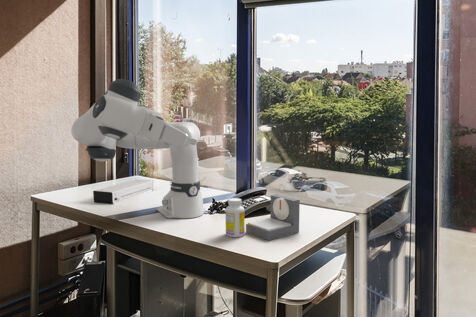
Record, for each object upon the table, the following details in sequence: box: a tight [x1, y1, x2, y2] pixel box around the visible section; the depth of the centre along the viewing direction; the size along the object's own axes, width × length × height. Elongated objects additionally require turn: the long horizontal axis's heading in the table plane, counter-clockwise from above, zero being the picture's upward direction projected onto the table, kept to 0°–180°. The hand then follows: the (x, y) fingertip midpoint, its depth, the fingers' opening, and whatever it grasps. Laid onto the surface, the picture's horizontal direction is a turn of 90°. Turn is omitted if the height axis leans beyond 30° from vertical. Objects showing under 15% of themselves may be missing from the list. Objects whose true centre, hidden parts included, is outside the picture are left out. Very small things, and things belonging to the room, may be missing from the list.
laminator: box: [92, 178, 154, 205], centre depth 205 cm, size 34×12×6 cm, turn 158°
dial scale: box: [245, 194, 301, 241], centre depth 144 cm, size 12×15×12 cm
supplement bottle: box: [225, 197, 246, 238], centre depth 141 cm, size 7×7×13 cm
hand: (190, 139), depth 126 cm, fingers open, 8 cm apart
